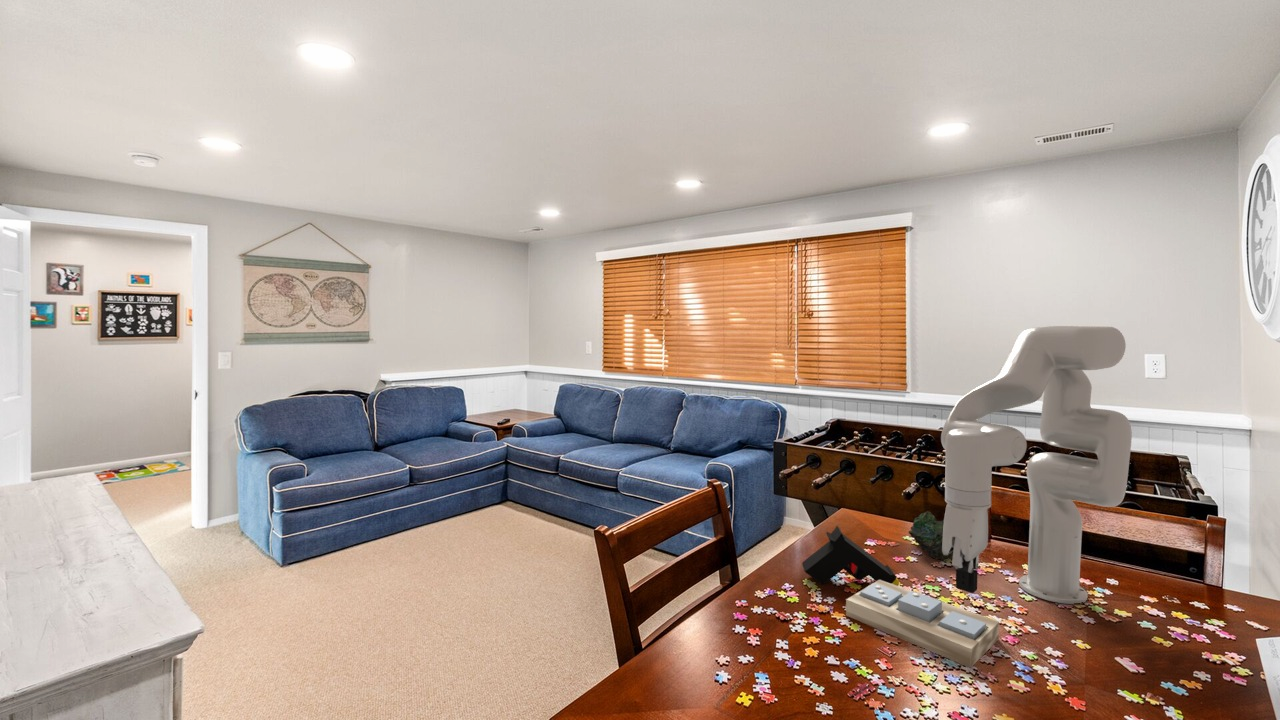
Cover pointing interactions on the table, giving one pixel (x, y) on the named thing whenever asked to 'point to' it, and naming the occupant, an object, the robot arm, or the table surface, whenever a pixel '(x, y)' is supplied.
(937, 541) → the rock
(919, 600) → the tile two
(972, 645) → the board
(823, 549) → the toy gun
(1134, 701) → the table surface
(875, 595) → the tile three
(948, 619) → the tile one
